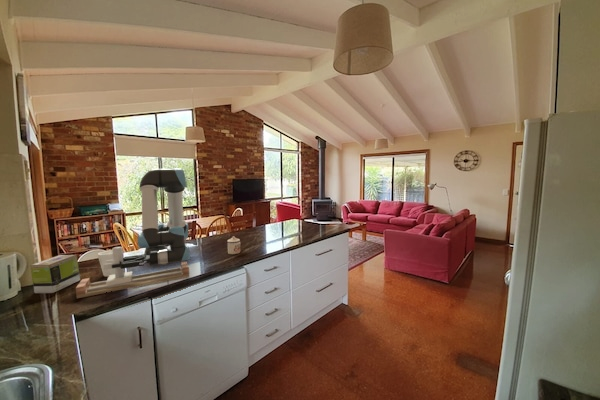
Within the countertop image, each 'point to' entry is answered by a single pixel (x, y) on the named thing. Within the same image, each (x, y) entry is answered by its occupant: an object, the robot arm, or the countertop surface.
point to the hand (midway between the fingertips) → (105, 265)
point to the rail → (137, 280)
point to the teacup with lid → (233, 245)
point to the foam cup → (103, 258)
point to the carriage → (118, 270)
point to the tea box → (55, 273)
